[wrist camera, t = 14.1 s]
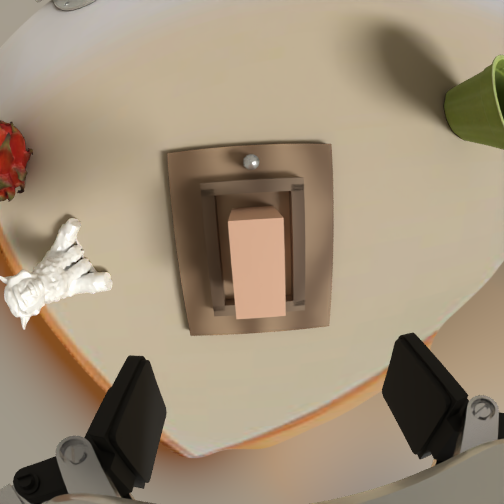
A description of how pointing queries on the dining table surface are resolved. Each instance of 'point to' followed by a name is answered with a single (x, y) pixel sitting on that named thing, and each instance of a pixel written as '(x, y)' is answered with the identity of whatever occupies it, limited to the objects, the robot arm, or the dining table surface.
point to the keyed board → (253, 195)
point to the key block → (257, 261)
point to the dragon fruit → (12, 160)
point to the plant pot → (479, 106)
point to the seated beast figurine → (54, 276)
